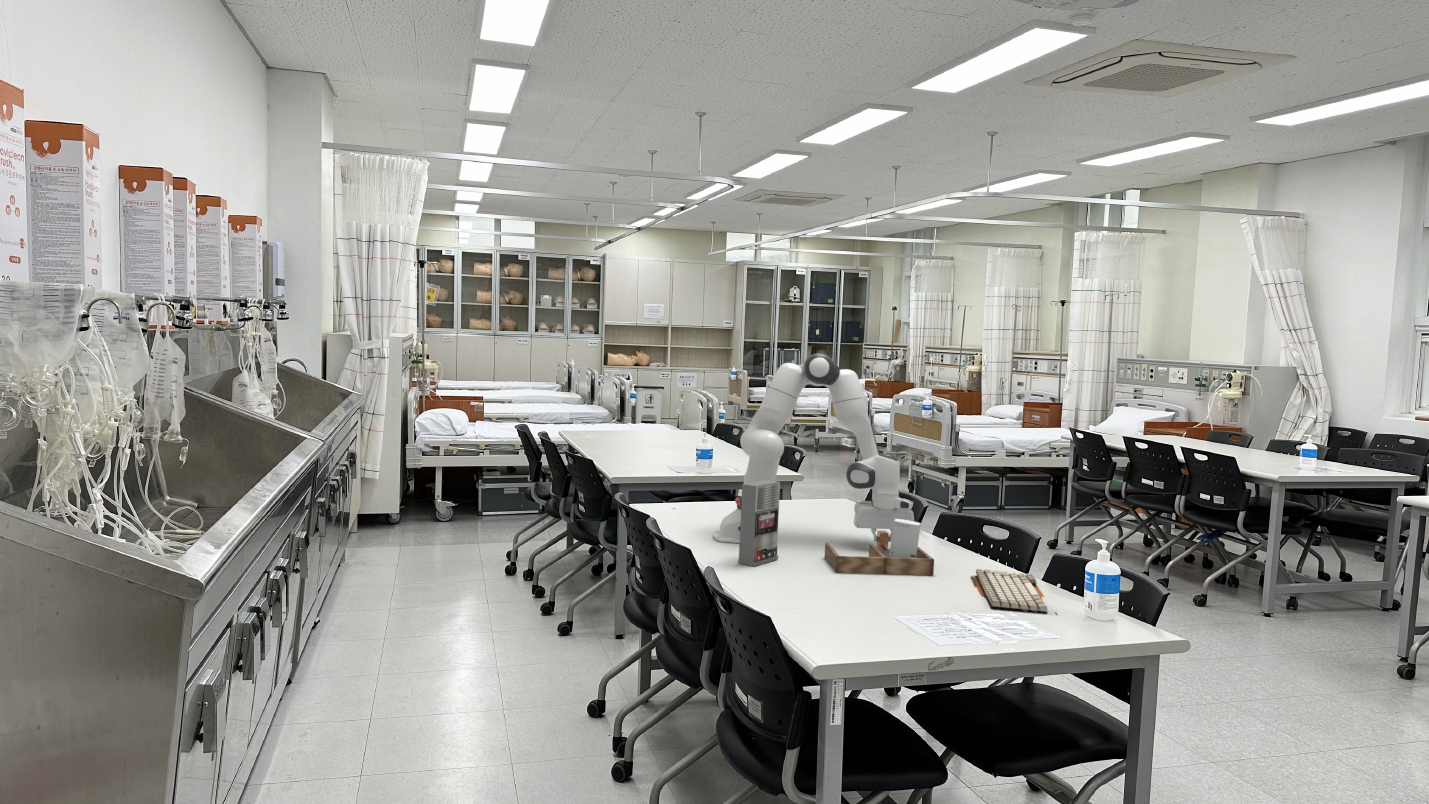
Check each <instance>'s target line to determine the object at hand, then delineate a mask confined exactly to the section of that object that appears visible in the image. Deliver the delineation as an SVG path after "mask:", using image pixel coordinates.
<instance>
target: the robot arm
mask: <svg viewBox="0 0 1429 804" xmlns="http://www.w3.org/2000/svg"><path fill="white" fill-rule="evenodd" d="M860 381H861V380H860V379H859V376H858V374H857V373H856V372H855V371H854V370H851V369H848V368H847V369H845V368H842V369H841V368H840V367H839V366H838V365H837V364H836V363H835V361H834V360H833V359H832V357H830V356H829V355H828V354H826V353H823V352H816V353H813V354H811V355H809V356H808V357H807V358H806V359H805V361H804V362H803V363H802V364H795V363H793V362H785V363H783V364H781V365H780V366H779V367H778V369H777V370H776V372H775V373H774V375H773V377H772V380H771V381H770V383H769V386H768V388H767V389H766V392H765V394H764V397H763V400H762V402H761V404H760V407H759V408H758V410H757V411H756V413H755V415H754V416H753V418H752V420H751V421H750V423H749V424H748V426H747V428H746V430H744V431H743V432H742V434H741V436H740V440H739V441H740V442H739V443H740V446H741V448H742V451H743V452H744V453H745V454H746V455H747V456H748V458H749V459H748V464H747V467H746V472H745V473H744V476H743V484H746V483H752V482H758V481H764V480H770V481H777V473H778V470H779V465H780V462H781V461H780V460H781V458H782V456H783V454H784V452H785V451H784V450H785V445H784V441H783V440H782V438H781V437H780V435H778V434H779V433H780V432H781V430H782V428H783V427H784V426H785V424H786V423H788V422H789V420H790V419H791V416H792V414H793V411H794V408H795V407H796V404H797V402H798V399H799V397H800V394H801V393H802V391H803V389H804V388H805V387H807V386H808V387H815V388H816V387H817V388H818V387H823V386H824V387H826V388H827V389H828V391H829V393H830V396H831V401H832V409H833V412H834V415H835V418H836V420H837V422H838V423H839V424H841V425H842V426H843V427H845V428H847V429H848V430H849V431H850V432H851V433H853V434H854V436H855V438H856V441H857V444H858V447H859V448H858V449H859V453H860V455H861V460H860V461H856V462H853V463H851V464H850V465H849V466H848V467H847V469H846V474H845V475H846V480H847V482H848V484H849V485H850V486H851V487H852V488H854V489H858V490H865V489H871V490H872V491H871V492H872V493H871V494H872V495H871V496H872V497H871V500H858V501H857V502H856V503H855V504H854V509H853V510H854V518H853V525H854V526H855V527H856V529H870V531H871V534H872V535H873V542H876V543H877V542H879V536H877V530H889V531H890V532H889V539H888V543H891V538H892V530H893V524H894V520H895V519H902V520H908V521H913V522H915V516H914V512H913V510H912V508H913V503H912V502H910V501H909V500H907V499H905V498H903V497H900V496H899V494H900V493H899V484H900V480H901V479H900V476H901V471H900V470H901V469H900V468H901V467H900V461H899V458H898V457H897V456H895V455H893V454H889V453H885V452H880V450H879V447H878V443H877V439H876V436H875V432H874V429H873V426H872V423H871V422H872V421H871V420H870V417H869V414H868V410H867V406H866V405H867V404H866V401H865V395H864V391H863V386H862V384H861V382H860ZM734 502H735V504H736V509H735V510H733V511H732V512H730V513H729V514H727V515H726V516H725V517H723V519H722V520H721V522H720V525H719V530H716V531H714V532H713V535H712V538H713V539H714V540H715V541H717V542H719V543H720V542H721V543H733V544H740V523H741V502H742V497H741V498H740V497H736V498H735V499H734Z"/></svg>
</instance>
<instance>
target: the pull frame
mask: <svg viewBox="0 0 1429 804" xmlns="http://www.w3.org/2000/svg"><path fill="white" fill-rule="evenodd" d="M889 535H890V532H888V531H887V530H880V529H877V530H876V536H879V542H876V545H875V547H876V548H877V549H878V550H879V551H880V552H881V553H882V554H883V555H885V556H886V557H889V552H890V549H889V542H888V539H889Z"/></svg>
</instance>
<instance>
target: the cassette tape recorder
mask: <svg viewBox="0 0 1429 804" xmlns="http://www.w3.org/2000/svg"><path fill="white" fill-rule="evenodd" d="M780 492H781V482H780V481H777V480H776V481H770V480H764V481H758V482H752V483H746V484H744V483H742V484H741V498H742V502H741V523H740V543H738V544H739V546H738V547H739V548H738V560H737V563H738V564H740V565H746V566H750V567H753V568H754V567H756V566H760V565H762V564H767V563H770V562H772V561H776V560H779V555H778V533H779V532H778V531H779V514H780V494H781V493H780Z"/></svg>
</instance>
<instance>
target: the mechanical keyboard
mask: <svg viewBox="0 0 1429 804" xmlns="http://www.w3.org/2000/svg"><path fill="white" fill-rule="evenodd" d="M975 573H976V575H971V576H969V578H970V581H971V582H972V584H973V586H974V588H976V590H977V592H978V593H979V595H980V596H981V597H983V598H984V599H985V600H986V602H987V605H988V606H989V609H990V610H991V611H992V610H993V611H1000V612H1001V611H1004V612H1013V613H1015V612H1016V613H1026V614H1027V613H1028V614H1029V613H1031V614H1046V613H1048V612H1049V611H1048V607H1047V605H1046V603H1045V602H1044V600H1043V598H1044V597H1045V595H1044V594H1043V592H1042V590H1041V589H1040V588H1039V587H1038V585H1037V579H1036V577H1035V575H1033V573H1031V572H1029V573H1026V574H1025V573H1024V572H1019V573H1016V572H1007V571H1001V570H990V569H985V568H984V570H983V569H982V568H976V569H975ZM1054 614H1055V615H1056V616H1058V613H1057V611H1056V612H1055V611H1054Z"/></svg>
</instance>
